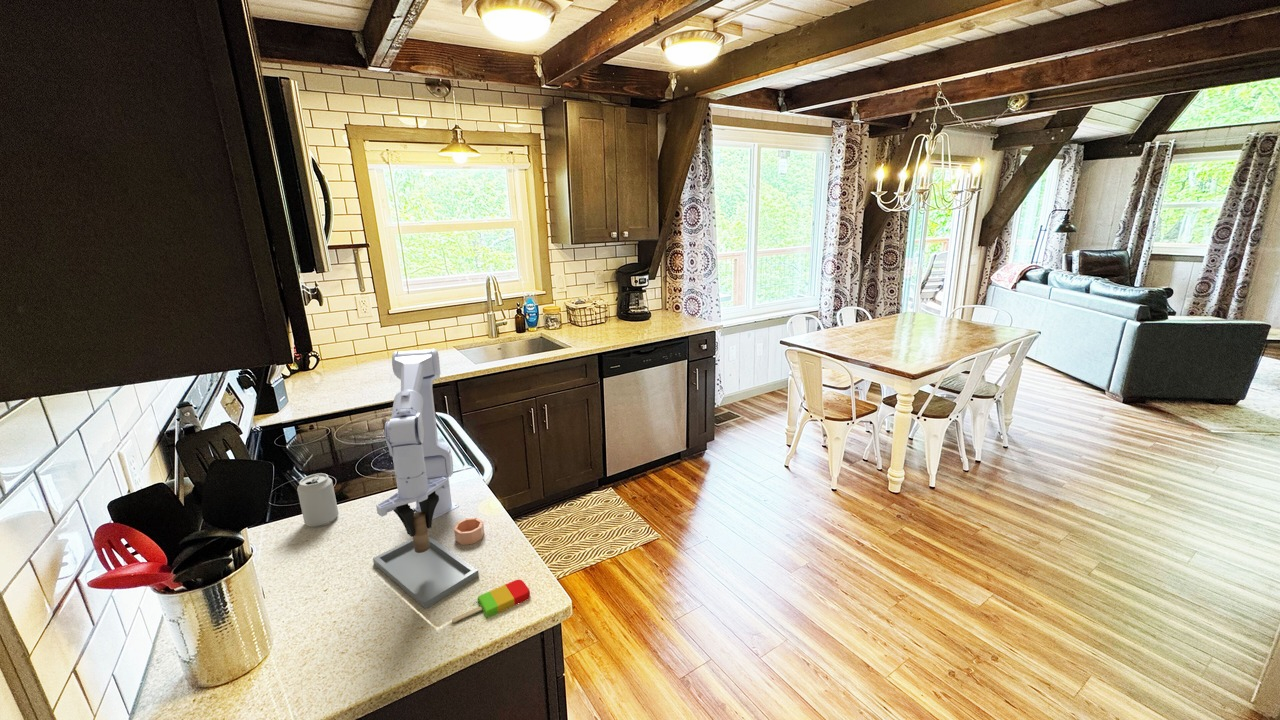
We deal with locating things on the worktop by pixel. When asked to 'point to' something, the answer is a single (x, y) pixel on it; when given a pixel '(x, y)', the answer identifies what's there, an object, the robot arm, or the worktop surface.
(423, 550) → the pin
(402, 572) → the tray
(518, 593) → the popsicle
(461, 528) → the cup
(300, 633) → the worktop surface
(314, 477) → the can
